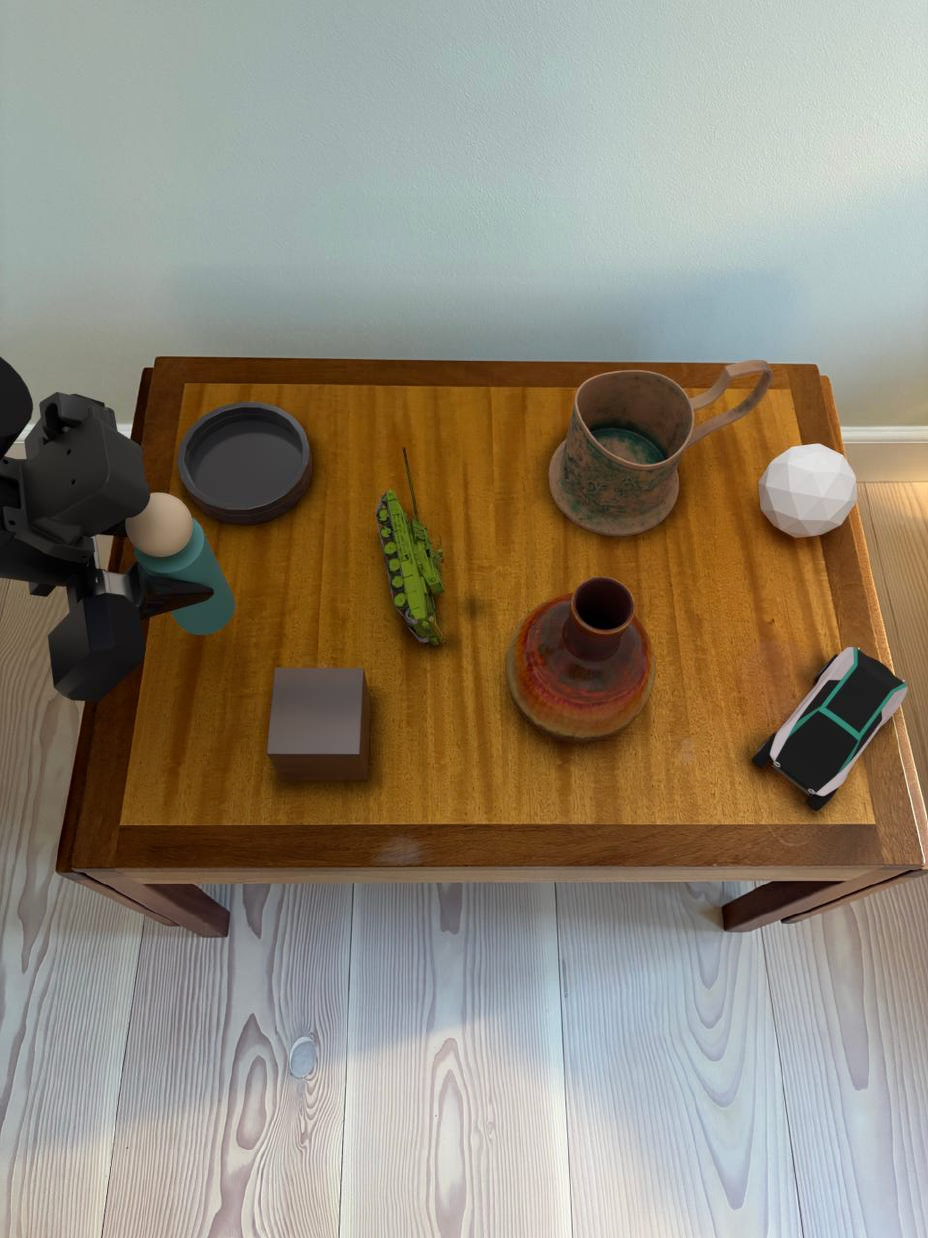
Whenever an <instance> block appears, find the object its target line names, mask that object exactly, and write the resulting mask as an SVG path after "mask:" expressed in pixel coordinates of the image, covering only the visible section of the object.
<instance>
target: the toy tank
mask: <svg viewBox="0 0 928 1238" xmlns="http://www.w3.org/2000/svg"><path fill="white" fill-rule="evenodd" d="M401 448H402V453H403V458H404V464H405V469H406V474H407V479H408V484H409V491H410V496H411V500H412V505H413V507H412V509H413V512H414V513H413V514H414V517H413V516H411V517H410V522H409V519H408V516H409V515H408V513H406V512H405V511H404V510H403V508H402V506H401V503H400V502H399V499H398V496H397V495H396V493H395V491H394V490H393V489H389V490H388V491H386V492H384V493H383V494H382V495H381V496H380V499H379V501H378V504H377V506H376V510H375V518H376V522H377V528H378V532H379V537H380V538H379V539H380V543H381V547H382V553H383V558H384V562H385V567H386V573H387V577H388V584H389V588H390V592H391V598H392V605H393V607H394V609H395V610H396V611H397V612H398V613H399V614H400V616H402V617H403V618H404V623H405V625H406V627H407V629H408V630H409V631H410V632H411V633H412V634H413V635H414V637H415V638H416V640H418V641H419V643H429V644H430V645H432V644H433V645H434V646H436V645H437V646H439V644H440V643H441V644H443V643H445V641H446V640H447V639H446V637H445V636H444V633H442V631H441V629H440V627H439V625H438V624H437V623H438V622H437V618H436V613H435V611H436V610H437V608H436V604H435V600H434V597H433V595H434V596H436V595H442V594H444V593H445V587H444V583H443V580H442V576H443V575H444V574H447V573H449V572H453V571H454V569H452V570H449V571H445V572H443V573H442V572H441V566H440V563H442V564H444V563H445V557H444V556H445V552H443V549H442V545H440V544H442V538H441V535H439V543H437V548H438V549H437V551H436V553H435V550H434V546H433V542H434V541H433V540H431V538H430V535H429V534H428V527H426V525H423V524H422V523H421V521H420V516H419V511H418V506H417V502H416V497H415V492H414V487H413V481H412V476H411V472H410V466H409V461H408V456H407V451H406V446H402V447H401ZM387 558H388V559H387ZM439 559H440V563H439V561H438V560H439ZM456 570H457V571H458V572H459V569H456ZM459 574H460V573H458V575H459ZM390 576H392V577H390ZM413 629H414V630H415V631H416V632H414V631H413Z"/></svg>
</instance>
